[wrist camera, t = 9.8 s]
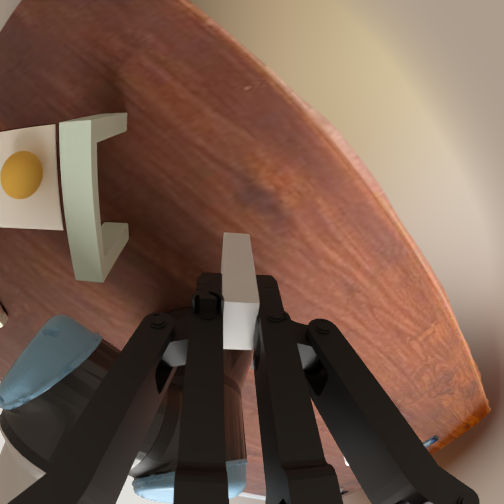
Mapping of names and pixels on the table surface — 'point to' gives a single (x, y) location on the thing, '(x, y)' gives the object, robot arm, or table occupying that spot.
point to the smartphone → (430, 441)
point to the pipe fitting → (3, 317)
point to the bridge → (88, 196)
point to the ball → (21, 175)
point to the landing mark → (47, 195)
